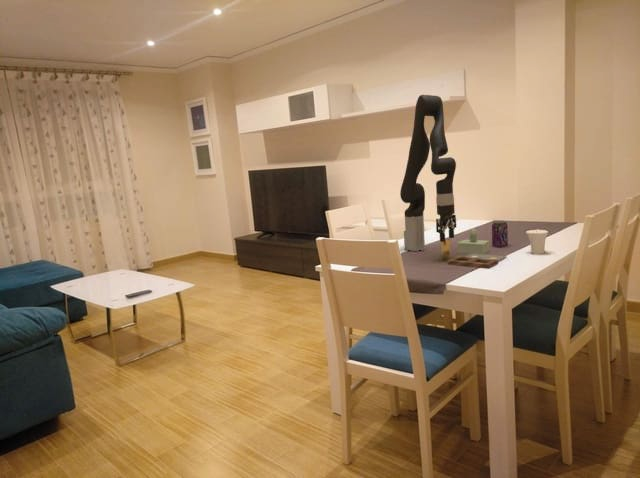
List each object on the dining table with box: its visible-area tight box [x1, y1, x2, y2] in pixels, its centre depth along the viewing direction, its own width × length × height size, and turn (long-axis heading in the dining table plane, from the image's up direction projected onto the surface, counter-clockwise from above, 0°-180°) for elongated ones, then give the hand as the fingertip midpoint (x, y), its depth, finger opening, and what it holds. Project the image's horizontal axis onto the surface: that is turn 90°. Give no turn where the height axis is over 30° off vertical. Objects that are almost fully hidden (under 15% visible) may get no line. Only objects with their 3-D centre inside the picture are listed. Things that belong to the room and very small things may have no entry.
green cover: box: [456, 228, 491, 255], centre depth 217 cm, size 12×9×11 cm
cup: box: [525, 228, 549, 255], centre depth 205 cm, size 9×9×10 cm
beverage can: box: [491, 220, 509, 248], centre depth 224 cm, size 7×7×12 cm
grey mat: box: [464, 253, 508, 263], centre depth 203 cm, size 16×11×1 cm
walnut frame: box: [447, 255, 499, 269], centre depth 195 cm, size 18×9×2 cm, turn 47°
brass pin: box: [440, 238, 452, 261], centre depth 206 cm, size 4×4×9 cm
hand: (447, 239), depth 206 cm, fingers open, 8 cm apart
